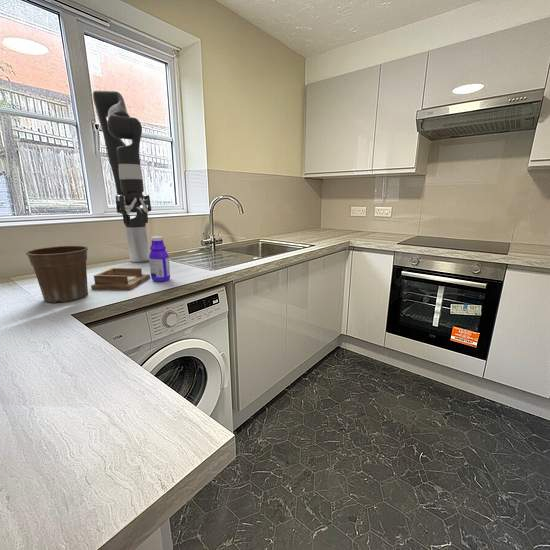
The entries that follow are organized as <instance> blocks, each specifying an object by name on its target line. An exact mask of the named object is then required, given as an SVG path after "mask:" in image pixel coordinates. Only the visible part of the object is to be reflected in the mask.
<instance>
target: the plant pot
mask: <svg viewBox="0 0 550 550" xmlns="http://www.w3.org/2000/svg"><path fill="white" fill-rule="evenodd" d="M88 250H89V247H88V246H83V245H60V246H51V247H50V246H49V247H41V248H34V249H31V250H28V251H25V255H26V256H27V257H28V259H29V261H30V265H31V266H32V267H33V269H34V270H33V271H34V274H35V277H36V279H37V282H38V285H39V287H40V291H41V294H42V295H41V296H42V298H43V300H44V301H45V302H47V303H54V304H55V303H58V302H63V303H67V302H72V301H77V300H80V299H82V298H85V297H87V295H88V294H89V290H88V273H87V272H88V271H87V260H88Z"/></svg>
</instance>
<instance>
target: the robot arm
mask: <svg viewBox="0 0 550 550" xmlns="http://www.w3.org/2000/svg"><path fill="white" fill-rule="evenodd" d="M92 100H93V101H92V102H93V105H94V109H95V111H96V115H97V118H98V122H99V124H100V128H101V132H102V134H103V139H104V143H105V149H106V152H107V153H106V154H107V157H108V161H109V165H110V167H111V173H112V175H113V179H114V183H115V189H116V195H115V206H116V213H117V214H121V216H122V220H123V224H124V226H125V230H126V232H125V233H126V239H127V247H128V248H127V249H128V255H129V256H128V257H129V261H130V262H132V263H142V262H147V261H149V255H150V247H149V240H148V233H147V224H148V222H149V215H148V213H149V212H152V204H151V197H150V195H149V194H148V195H147V194H145V195H144V194H143V193H144V192H145V186H144V178H143V172H142V167H141V158H140V144H141V139H142V133H143V126H142V123H141V122H140V120H139V119H138V118H136V117H131V115H130V114H129V113H128V110H127V105H126V102H125V100H124V97H123V95H122V94H121V93H120V92H118V91H116V90H93V92H92ZM123 140H131V142H130V144H126V143H125V142H124V141H123ZM132 213H133V214H135V213H136V215H135V216H134V217H132V218H131V215H130V214H132Z"/></svg>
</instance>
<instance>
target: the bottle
mask: <svg viewBox="0 0 550 550" xmlns="http://www.w3.org/2000/svg"><path fill="white" fill-rule="evenodd" d="M149 250H150V251H149V260H148V261H149V269H150V279H151V280H152V281H154V282H160V283H161V282H162V283H163V282H164V283H165V282H168V281H169V280H170V279H171V269H170V256H169V254H168V251H167V250H166V245H165V243H164V238H163V236H160V235H159V236H157V235H156V236H155V235H154V236H151V245H150V247H149Z"/></svg>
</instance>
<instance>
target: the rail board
mask: <svg viewBox="0 0 550 550" xmlns="http://www.w3.org/2000/svg"><path fill="white" fill-rule="evenodd" d="M149 279H151V273H150V274H149V273H148V274H147V273H143V272H142V268H140V267H139V268H135V267H134V268H131V267H129V268H128V267H127V268H126V267H111V268H109V269H106V270H105V271H102V272H99V273H97V274H95V275H93V280H94V283H93V284H91V285H90V287H91V290H100V291H103V290H104V291H105V290H106V291H131V290H133V289H134V288H136V287H138V286H139V285H140V284H143V283H144V282H146V281H147V280H149Z"/></svg>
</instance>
